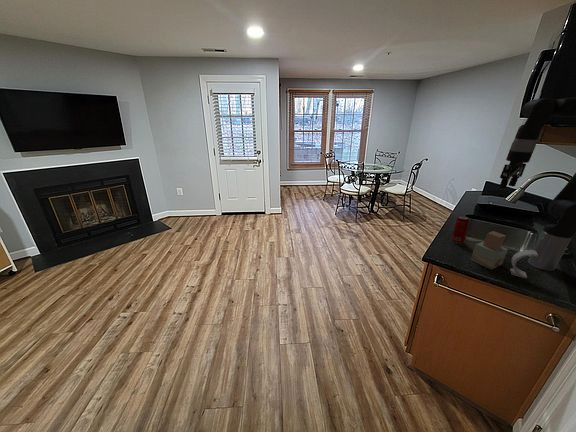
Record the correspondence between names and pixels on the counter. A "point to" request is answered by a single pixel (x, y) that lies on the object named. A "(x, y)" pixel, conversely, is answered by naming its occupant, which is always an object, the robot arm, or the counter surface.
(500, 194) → the counter surface
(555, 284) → the counter surface
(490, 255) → the tower top
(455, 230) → the beverage can
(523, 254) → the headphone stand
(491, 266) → the tower bottom
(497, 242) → the terracotta block
